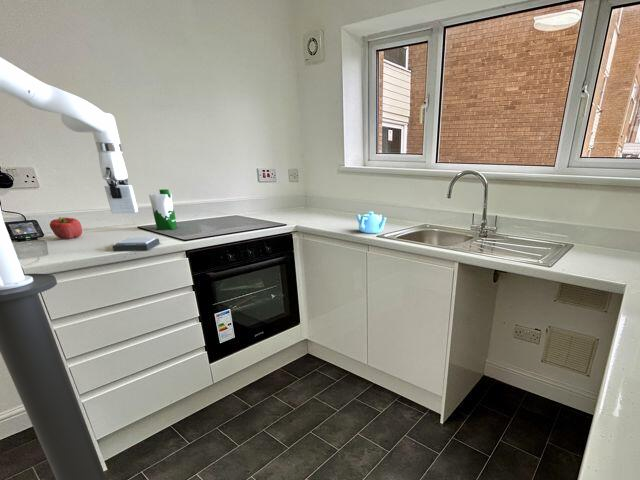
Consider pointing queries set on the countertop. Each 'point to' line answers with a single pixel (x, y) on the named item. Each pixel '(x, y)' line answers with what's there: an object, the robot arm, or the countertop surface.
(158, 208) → the milk carton
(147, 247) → the scale
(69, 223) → the vegetable
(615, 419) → the countertop surface
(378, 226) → the teapot
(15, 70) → the robot arm
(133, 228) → the countertop surface
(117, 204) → the small box
